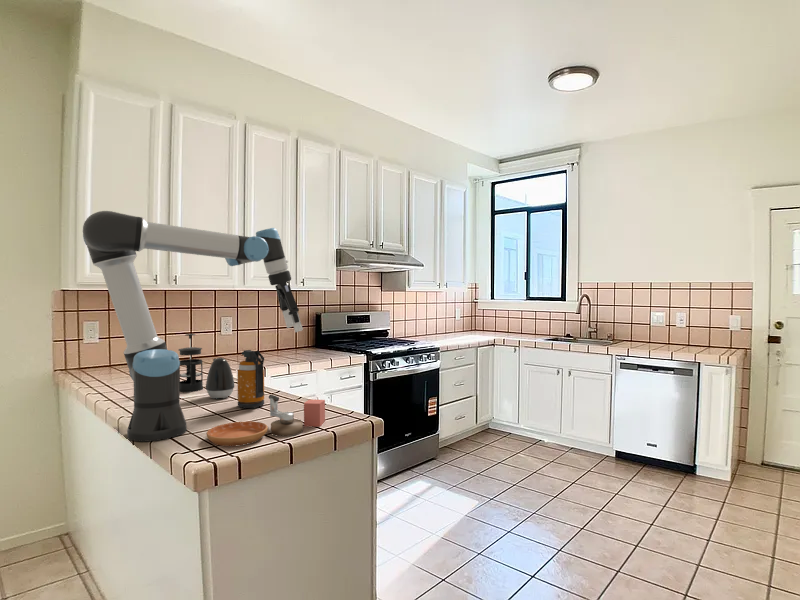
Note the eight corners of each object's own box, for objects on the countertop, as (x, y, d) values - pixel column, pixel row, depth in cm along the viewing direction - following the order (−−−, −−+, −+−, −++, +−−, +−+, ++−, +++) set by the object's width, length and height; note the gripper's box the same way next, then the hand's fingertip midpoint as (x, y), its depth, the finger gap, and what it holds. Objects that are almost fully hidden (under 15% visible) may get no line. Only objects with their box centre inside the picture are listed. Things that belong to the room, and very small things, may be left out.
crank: (296, 422, 137) (296, 400, 137) (283, 424, 134) (283, 402, 134) (277, 413, 146) (276, 393, 146) (264, 416, 143) (264, 395, 143)
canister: (254, 402, 173) (254, 347, 173) (273, 406, 166) (272, 350, 166) (232, 406, 166) (232, 350, 166) (250, 411, 159) (250, 352, 159)
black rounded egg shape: (227, 393, 188) (226, 355, 188) (239, 397, 181) (238, 357, 180) (201, 397, 181) (200, 357, 181) (212, 401, 174) (212, 360, 173)
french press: (176, 388, 197) (175, 333, 196) (200, 386, 202) (199, 332, 201) (181, 393, 187) (180, 335, 186) (206, 391, 192) (205, 334, 192)
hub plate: (265, 435, 133) (265, 426, 133) (278, 426, 142) (278, 417, 142) (296, 437, 132) (296, 427, 132) (307, 427, 141) (307, 418, 141)
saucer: (197, 439, 131) (197, 428, 131) (251, 427, 142) (250, 417, 142) (222, 453, 120) (222, 442, 119) (278, 439, 131) (278, 428, 131)
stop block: (304, 426, 143) (303, 403, 142) (309, 421, 148) (309, 399, 147) (320, 426, 142) (319, 403, 142) (325, 422, 147) (324, 399, 147)
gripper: (296, 269, 157) (313, 329, 161) (281, 269, 180) (296, 322, 184) (274, 275, 155) (292, 336, 158) (262, 274, 177) (278, 328, 181)
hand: (294, 329), depth 171 cm, fingers open, 13 cm apart
